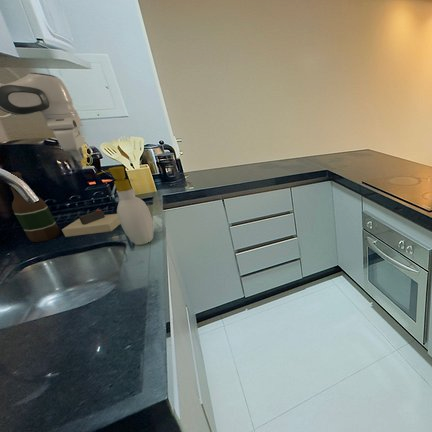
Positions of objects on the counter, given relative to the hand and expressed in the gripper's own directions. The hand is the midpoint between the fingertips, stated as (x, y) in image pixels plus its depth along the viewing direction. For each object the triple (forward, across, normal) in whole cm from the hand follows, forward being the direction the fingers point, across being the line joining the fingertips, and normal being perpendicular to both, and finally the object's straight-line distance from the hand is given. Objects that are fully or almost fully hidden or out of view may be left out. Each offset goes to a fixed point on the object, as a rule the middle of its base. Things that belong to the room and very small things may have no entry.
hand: (80, 159), depth 114 cm
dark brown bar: (+21, +13, -2) cm, 25 cm away
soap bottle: (+24, +37, +12) cm, 46 cm away
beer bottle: (+24, +12, -16) cm, 31 cm away
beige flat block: (+24, +13, -2) cm, 27 cm away
